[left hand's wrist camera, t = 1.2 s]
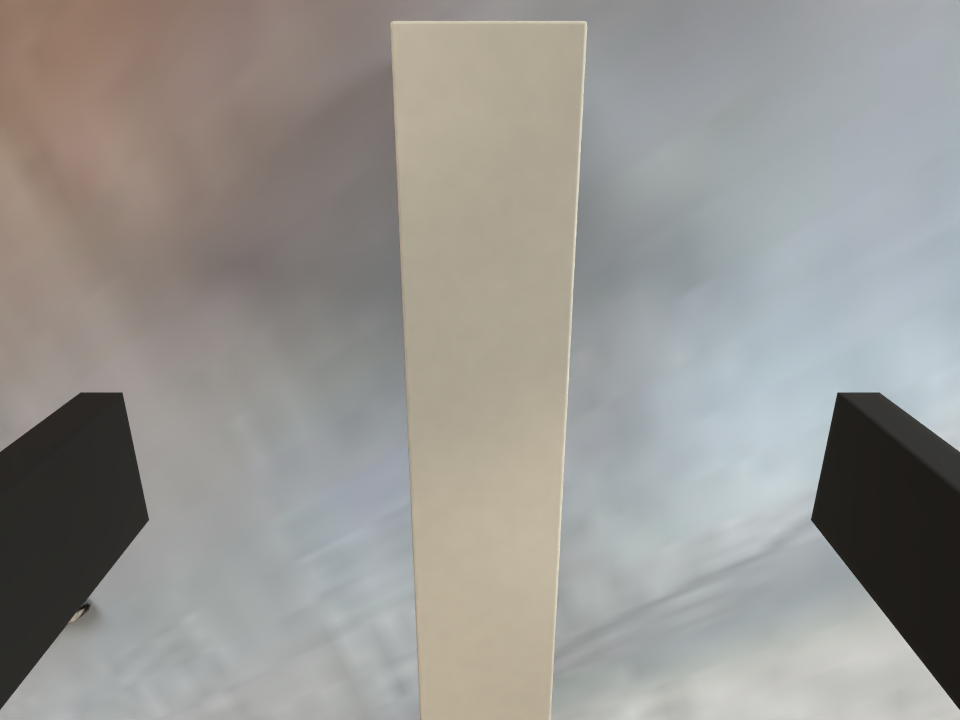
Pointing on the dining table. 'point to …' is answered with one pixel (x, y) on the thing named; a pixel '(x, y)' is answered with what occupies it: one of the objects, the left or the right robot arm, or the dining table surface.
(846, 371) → the dining table surface
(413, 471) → the bar
